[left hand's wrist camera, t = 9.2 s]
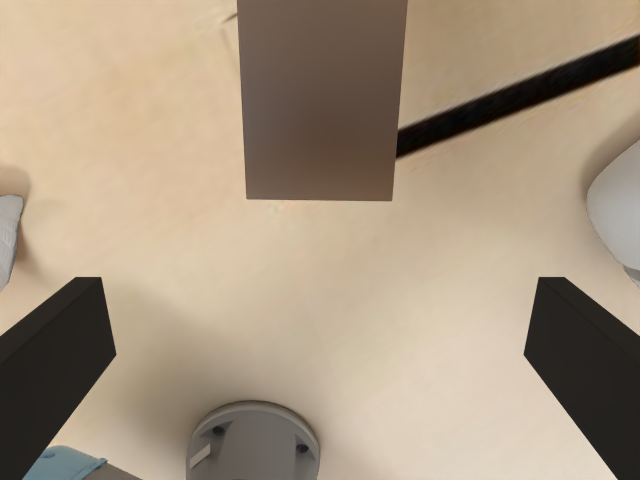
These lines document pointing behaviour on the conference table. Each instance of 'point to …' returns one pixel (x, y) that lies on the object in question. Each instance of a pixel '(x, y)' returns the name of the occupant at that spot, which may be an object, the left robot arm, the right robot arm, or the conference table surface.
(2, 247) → the red white irregular piece
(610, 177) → the projector
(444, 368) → the conference table surface
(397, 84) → the bar
